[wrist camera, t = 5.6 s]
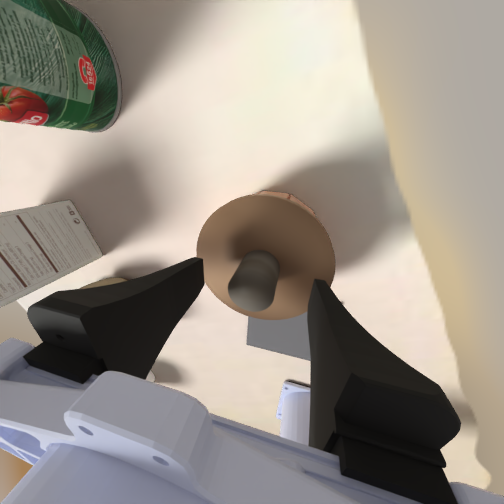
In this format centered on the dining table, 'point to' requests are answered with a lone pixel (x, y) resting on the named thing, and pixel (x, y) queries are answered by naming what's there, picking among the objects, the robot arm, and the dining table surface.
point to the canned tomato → (56, 67)
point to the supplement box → (41, 247)
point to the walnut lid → (265, 256)
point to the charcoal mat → (281, 335)
